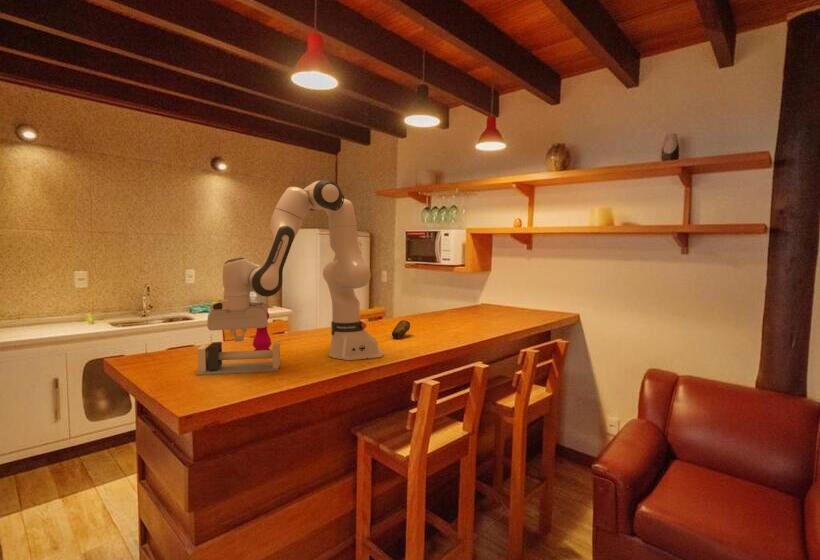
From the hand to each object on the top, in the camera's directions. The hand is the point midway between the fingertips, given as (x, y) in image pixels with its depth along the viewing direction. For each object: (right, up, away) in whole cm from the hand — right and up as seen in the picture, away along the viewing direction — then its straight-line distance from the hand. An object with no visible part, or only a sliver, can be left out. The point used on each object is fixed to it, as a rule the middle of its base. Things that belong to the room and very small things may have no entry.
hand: (239, 341), depth 159 cm
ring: (-8, -9, -1) cm, 12 cm away
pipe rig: (0, -10, +1) cm, 10 cm away
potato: (+57, -7, +60) cm, 83 cm away
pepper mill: (+1, -9, +23) cm, 25 cm away
